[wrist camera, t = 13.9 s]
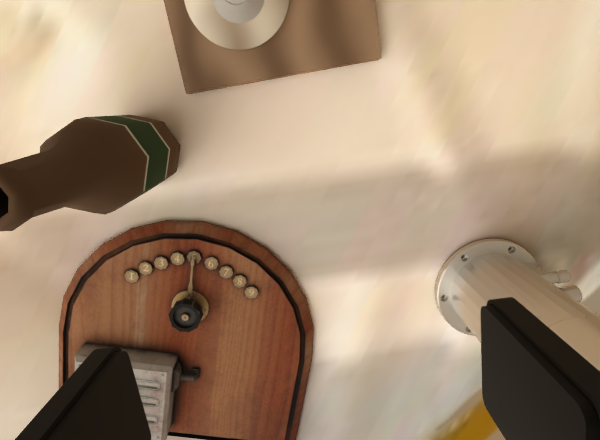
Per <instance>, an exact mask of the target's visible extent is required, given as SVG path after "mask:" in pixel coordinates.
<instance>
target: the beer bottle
mask: <svg viewBox="0 0 600 440" xmlns="http://www.w3.org/2000/svg"><path fill="white" fill-rule="evenodd" d="M179 150H180V145H179V143H178V142H177V140H176V139H175V137H174V136H173V135H172V133H171V132H170V130H169V129H168V128H167V126H166V125H165V123H164V122H161V121H157V120H152V119H148V118H144V117H139V116H133V115H121V116H101V117H85V118H80V119H76V120H74V121H73V122H71V123H70V124H68V125H67V126H65V127H64V128H63V129H61V130H60V131H58V132H57V133H56V134H54V135H53V136H51V137H50V138H49V139H47V140H46V141H45V142H44V143H43V144H42V145H41V146H40V153H38V154H34V155H31V156H28V157H24V158H21V159H18V160H14V161H11V162H7V163H4V164H1V165H0V231H13V230H14V229H16V228H17V227H19V226H20V225H22V224H23V223H25V222H26V221H27V220H29V219H30V218H32V217H35V216H38V215H41V214H44V213H47V212H50V211H53V210H57V209H60V208H63V207H68V208H73V209H78V210H83V211H87V212H92V213H99V214H107V213H110V212H112V211H115V210H117V209H118V208H120V207H122V206H123V205H125V204H127V203H129V202H130V201H132V200H134V199H135V198H137V197H139V196H140V195H142V194H144V193H145V192H147V191H149V190H150V189H152V188H153V187H155V186H156V185H158V184H159V183H161V182H162V181H164V180H165V179H167V178H168V177H170V176H172V175H173V174H174V173H175V172H176V171H177V164H178V157H179Z"/></svg>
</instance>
